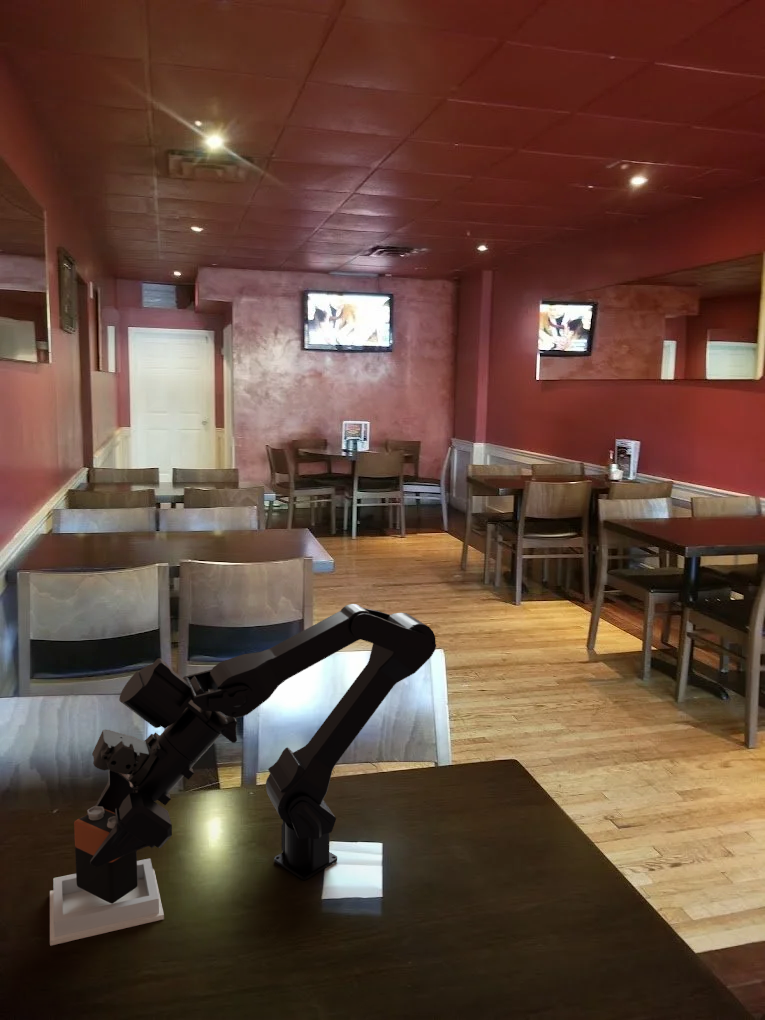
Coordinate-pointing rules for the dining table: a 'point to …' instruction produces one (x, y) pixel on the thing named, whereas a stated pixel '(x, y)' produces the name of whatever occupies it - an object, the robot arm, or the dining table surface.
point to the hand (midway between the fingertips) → (91, 844)
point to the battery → (111, 876)
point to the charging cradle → (102, 907)
